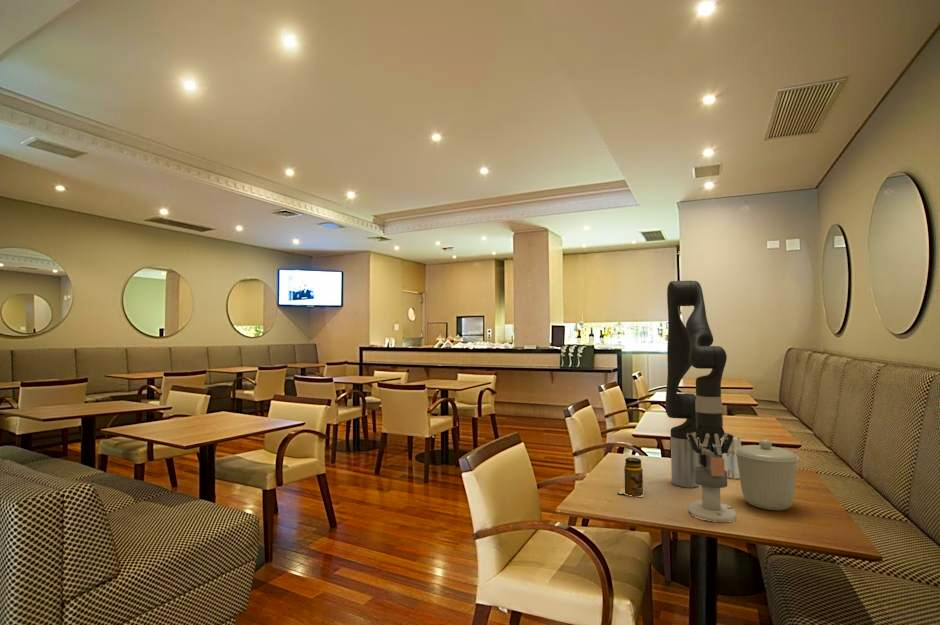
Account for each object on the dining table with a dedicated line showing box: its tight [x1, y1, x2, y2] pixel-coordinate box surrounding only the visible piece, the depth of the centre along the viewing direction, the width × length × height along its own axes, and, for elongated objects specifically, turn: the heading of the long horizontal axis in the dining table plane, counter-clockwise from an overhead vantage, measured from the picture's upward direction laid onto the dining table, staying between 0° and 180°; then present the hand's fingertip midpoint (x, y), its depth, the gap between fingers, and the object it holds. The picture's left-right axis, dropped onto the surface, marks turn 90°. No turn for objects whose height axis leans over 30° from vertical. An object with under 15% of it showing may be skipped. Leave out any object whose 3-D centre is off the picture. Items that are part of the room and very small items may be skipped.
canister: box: [734, 438, 800, 511], centre depth 155 cm, size 18×18×21 cm
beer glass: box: [720, 436, 742, 480], centre depth 186 cm, size 7×7×15 cm
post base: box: [688, 486, 737, 523], centre depth 147 cm, size 13×13×9 cm
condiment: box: [623, 457, 646, 496], centre depth 167 cm, size 7×8×12 cm
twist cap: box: [694, 448, 728, 489], centre depth 148 cm, size 12×9×9 cm
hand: (710, 466), depth 148 cm, fingers closed on twist cap, 3 cm apart
